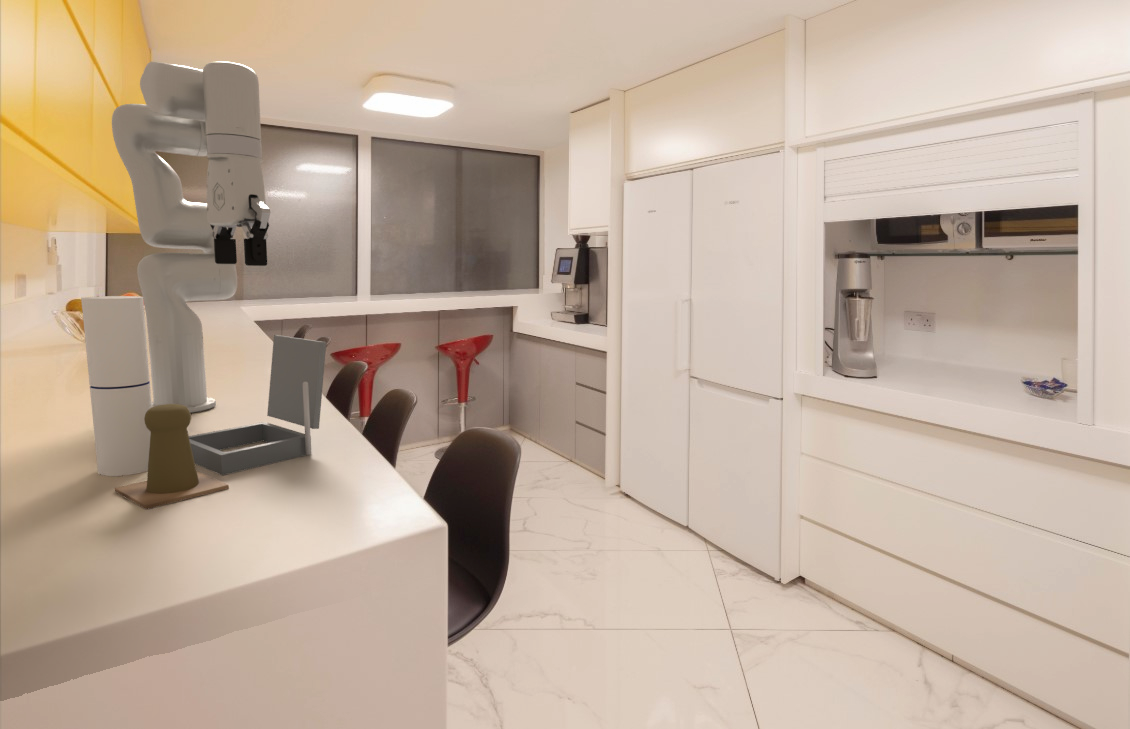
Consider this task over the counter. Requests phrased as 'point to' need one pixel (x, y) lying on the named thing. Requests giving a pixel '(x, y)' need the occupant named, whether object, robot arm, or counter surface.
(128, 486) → the walnut pad
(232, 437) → the case
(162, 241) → the robot arm
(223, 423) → the counter surface
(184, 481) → the cork
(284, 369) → the case lid
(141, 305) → the cylindrical container
